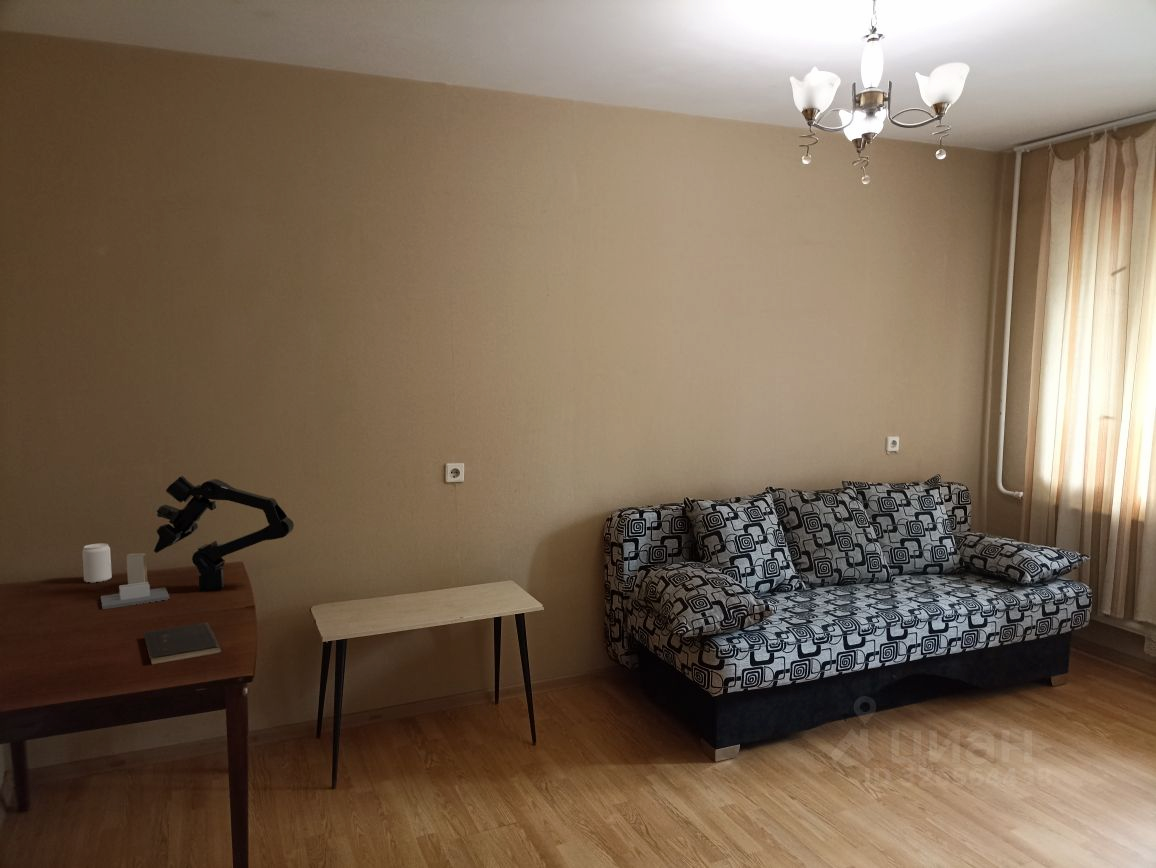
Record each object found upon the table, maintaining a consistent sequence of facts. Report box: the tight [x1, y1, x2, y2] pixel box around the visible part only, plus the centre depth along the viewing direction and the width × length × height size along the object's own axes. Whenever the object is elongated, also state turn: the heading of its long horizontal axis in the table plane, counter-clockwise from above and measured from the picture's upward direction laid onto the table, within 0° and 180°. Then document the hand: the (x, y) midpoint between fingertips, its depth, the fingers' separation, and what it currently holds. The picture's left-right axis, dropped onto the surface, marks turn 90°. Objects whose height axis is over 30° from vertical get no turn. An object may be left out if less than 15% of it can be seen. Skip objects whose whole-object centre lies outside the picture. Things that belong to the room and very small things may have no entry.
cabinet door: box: [124, 552, 148, 585], centre depth 262 cm, size 6×2×12 cm, turn 94°
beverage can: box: [81, 542, 113, 584], centre depth 276 cm, size 8×8×12 cm
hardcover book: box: [143, 621, 223, 665], centre depth 210 cm, size 16×23×2 cm
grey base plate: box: [100, 581, 171, 610], centre depth 253 cm, size 18×13×4 cm
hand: (161, 548), depth 262 cm, fingers open, 9 cm apart
